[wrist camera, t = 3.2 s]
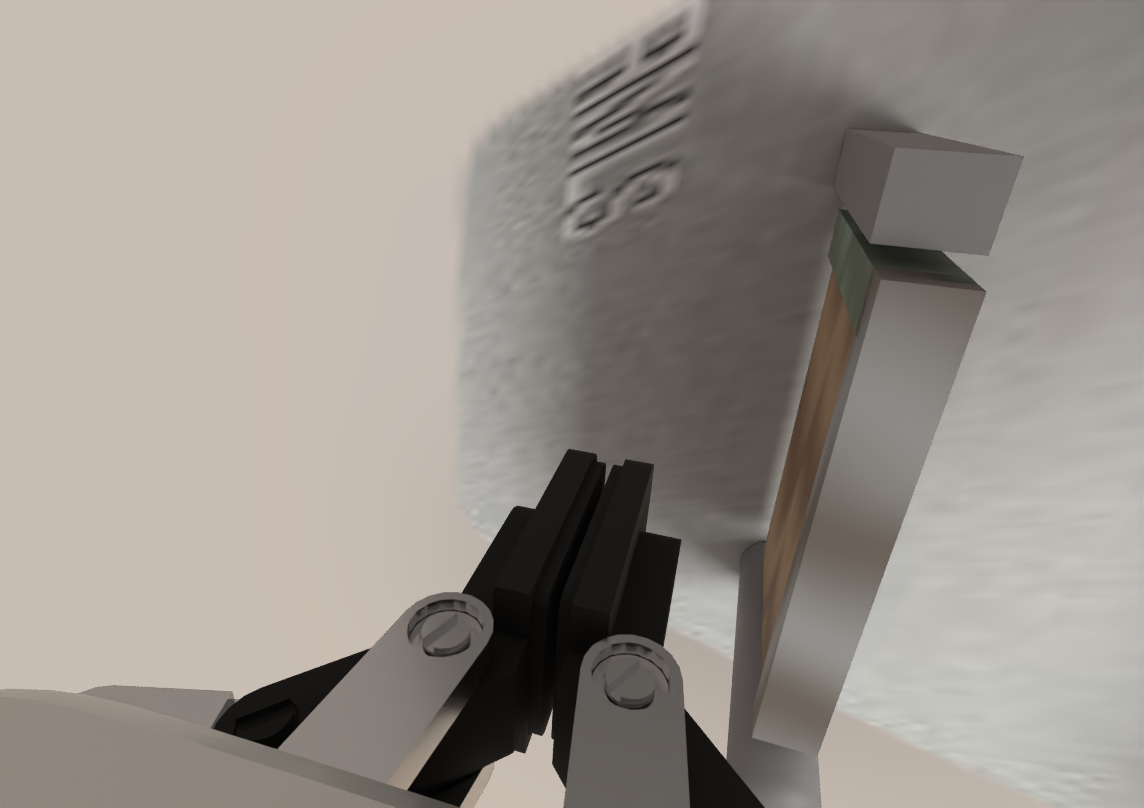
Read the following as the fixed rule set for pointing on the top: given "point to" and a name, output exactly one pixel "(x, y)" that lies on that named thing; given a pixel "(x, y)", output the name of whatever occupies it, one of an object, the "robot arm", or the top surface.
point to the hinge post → (763, 766)
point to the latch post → (924, 190)
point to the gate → (853, 467)
